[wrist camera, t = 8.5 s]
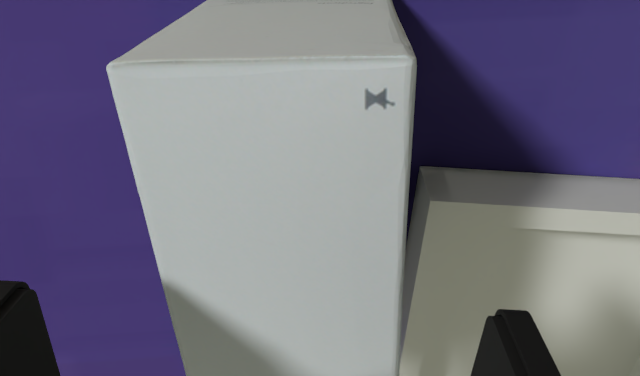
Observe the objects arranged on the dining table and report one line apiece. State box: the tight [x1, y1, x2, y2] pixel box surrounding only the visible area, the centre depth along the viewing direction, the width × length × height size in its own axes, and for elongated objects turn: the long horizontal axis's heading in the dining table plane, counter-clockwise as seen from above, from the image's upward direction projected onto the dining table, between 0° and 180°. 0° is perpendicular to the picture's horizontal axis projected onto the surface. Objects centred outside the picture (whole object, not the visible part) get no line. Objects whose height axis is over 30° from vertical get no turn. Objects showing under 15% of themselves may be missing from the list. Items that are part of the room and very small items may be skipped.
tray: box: [399, 166, 640, 376], centre depth 25 cm, size 14×18×3 cm
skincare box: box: [106, 0, 417, 376], centre depth 16 cm, size 10×6×10 cm, turn 2°
